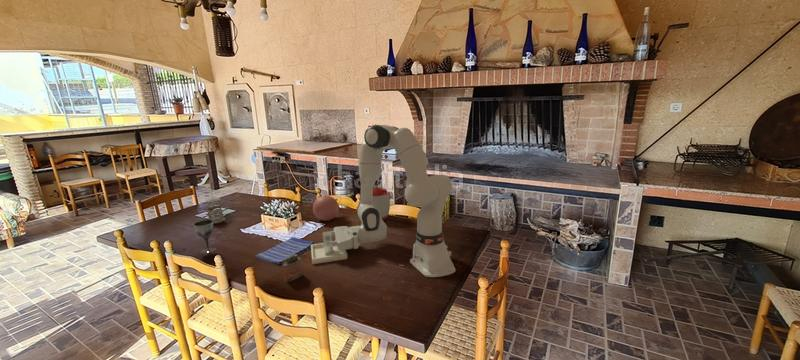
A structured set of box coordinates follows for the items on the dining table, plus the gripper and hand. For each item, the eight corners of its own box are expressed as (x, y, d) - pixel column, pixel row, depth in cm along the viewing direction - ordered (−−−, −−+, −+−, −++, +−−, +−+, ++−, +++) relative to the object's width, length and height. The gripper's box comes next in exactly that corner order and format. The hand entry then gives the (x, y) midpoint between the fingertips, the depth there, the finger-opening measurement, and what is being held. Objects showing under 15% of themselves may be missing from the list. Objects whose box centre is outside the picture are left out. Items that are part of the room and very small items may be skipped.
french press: (209, 218, 213) (202, 180, 206) (229, 216, 216) (223, 179, 210) (205, 224, 204) (198, 184, 197) (226, 221, 207) (220, 182, 201)
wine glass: (197, 255, 165) (191, 226, 161) (202, 248, 172) (196, 220, 168) (215, 252, 167) (210, 224, 163) (219, 245, 174) (214, 218, 170)
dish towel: (316, 246, 172) (315, 241, 171) (279, 267, 152) (278, 261, 152) (292, 239, 180) (292, 234, 180) (254, 258, 161) (253, 253, 160)
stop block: (333, 253, 161) (331, 234, 158) (324, 254, 160) (323, 235, 157) (332, 249, 164) (331, 231, 162) (324, 251, 163) (322, 232, 161)
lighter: (299, 272, 146) (297, 251, 144) (304, 274, 144) (301, 253, 142) (283, 280, 140) (280, 258, 138) (287, 283, 138) (284, 261, 136)
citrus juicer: (397, 219, 203) (396, 188, 198) (369, 224, 197) (368, 191, 192) (388, 211, 217) (387, 181, 212) (362, 215, 211) (360, 185, 206)
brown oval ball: (348, 215, 213) (347, 191, 209) (329, 226, 196) (326, 201, 192) (329, 211, 220) (327, 189, 216) (308, 222, 203) (306, 198, 199)
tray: (347, 258, 157) (347, 254, 156) (312, 264, 153) (311, 259, 152) (343, 244, 172) (343, 240, 171) (311, 249, 168) (310, 244, 167)
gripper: (351, 221, 172) (323, 225, 169) (357, 237, 153) (326, 241, 150) (351, 233, 174) (324, 236, 170) (358, 250, 155) (327, 254, 151)
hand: (325, 239), depth 160 cm, fingers open, 8 cm apart
